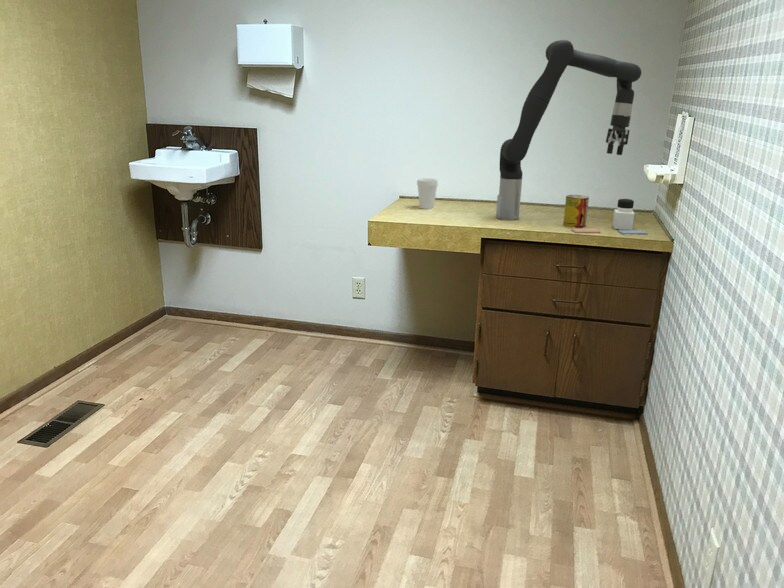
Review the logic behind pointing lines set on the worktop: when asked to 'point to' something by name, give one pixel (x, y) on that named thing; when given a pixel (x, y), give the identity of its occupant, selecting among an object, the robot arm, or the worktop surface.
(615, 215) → the medicine bottle
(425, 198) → the foam cup
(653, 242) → the worktop surface
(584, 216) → the yellow red tin can
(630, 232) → the slate-blue tag
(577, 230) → the terracotta tag
